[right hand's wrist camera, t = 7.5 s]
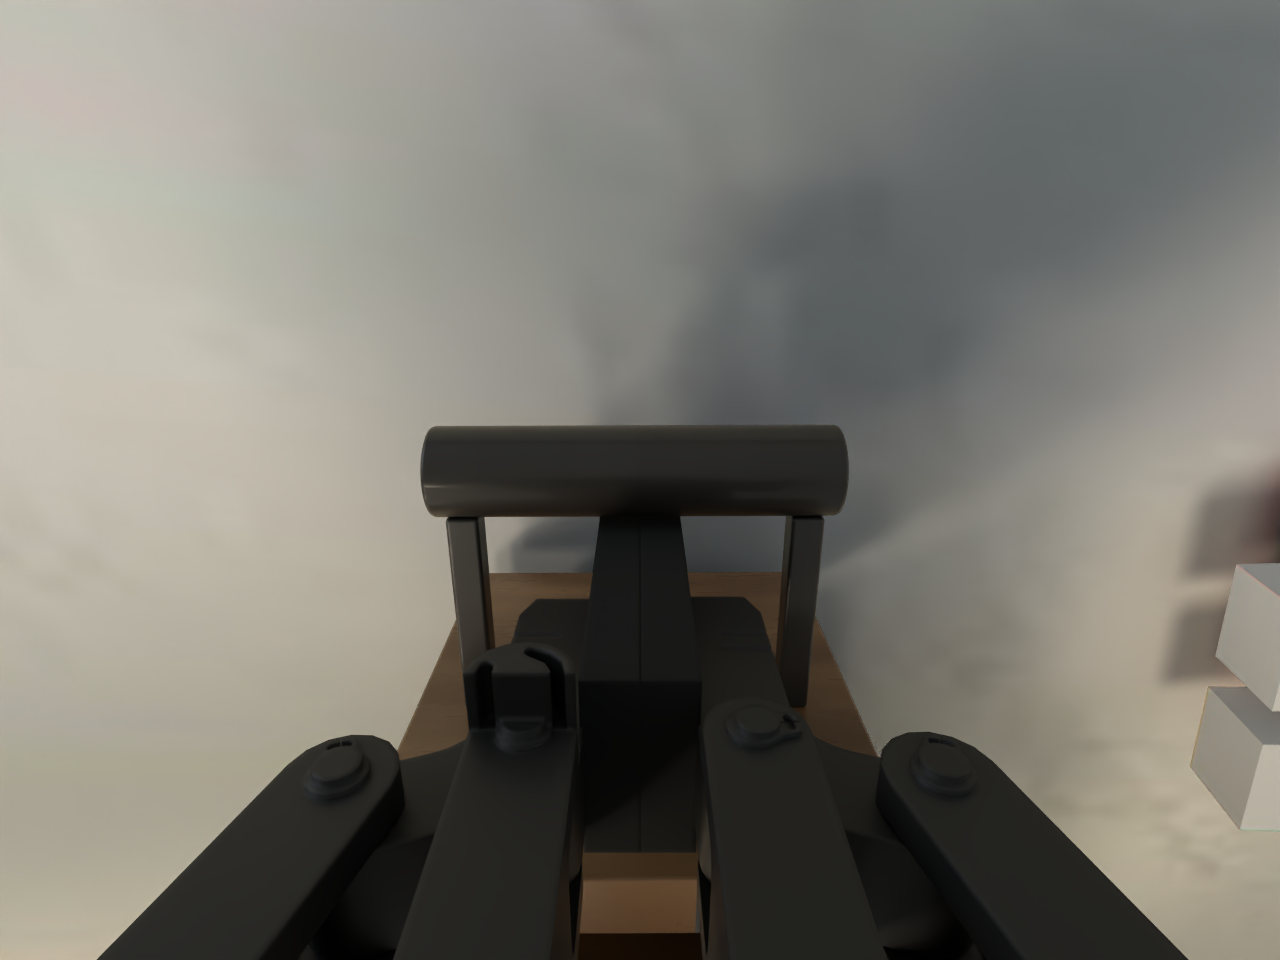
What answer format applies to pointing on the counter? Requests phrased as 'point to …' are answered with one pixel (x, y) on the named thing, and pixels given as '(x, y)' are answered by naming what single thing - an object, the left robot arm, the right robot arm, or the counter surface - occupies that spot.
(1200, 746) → the toy
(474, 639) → the drawer
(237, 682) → the counter surface
